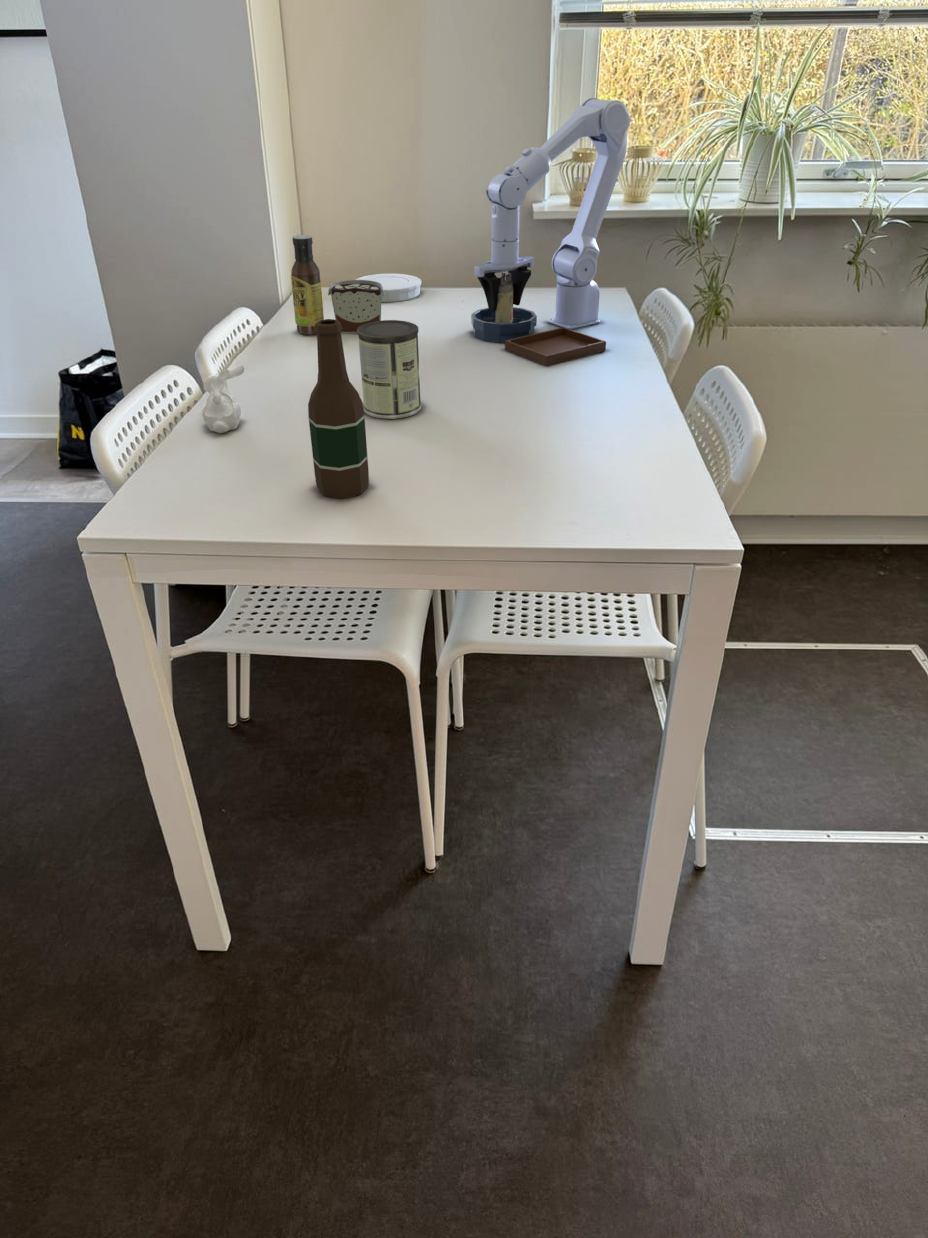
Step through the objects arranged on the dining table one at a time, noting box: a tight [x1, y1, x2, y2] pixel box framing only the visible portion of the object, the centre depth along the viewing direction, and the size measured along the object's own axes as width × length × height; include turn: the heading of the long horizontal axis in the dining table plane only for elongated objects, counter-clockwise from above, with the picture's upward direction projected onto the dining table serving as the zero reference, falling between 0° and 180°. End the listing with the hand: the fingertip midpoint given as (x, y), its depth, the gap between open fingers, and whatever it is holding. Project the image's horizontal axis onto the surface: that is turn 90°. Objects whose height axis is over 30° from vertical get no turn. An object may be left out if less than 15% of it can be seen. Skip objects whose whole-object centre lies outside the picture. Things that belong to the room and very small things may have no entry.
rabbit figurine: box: [201, 363, 245, 434], centre depth 149 cm, size 12×8×10 cm, turn 9°
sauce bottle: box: [290, 234, 325, 336], centre depth 191 cm, size 6×6×20 cm
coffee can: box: [356, 319, 422, 420], centre depth 153 cm, size 10×10×14 cm
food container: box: [327, 279, 385, 334], centre depth 195 cm, size 12×6×10 cm, turn 84°
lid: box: [355, 273, 422, 303], centre depth 223 cm, size 17×20×3 cm
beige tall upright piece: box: [495, 272, 514, 323], centre depth 190 cm, size 7×4×10 cm, turn 172°
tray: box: [504, 327, 607, 367], centre depth 184 cm, size 16×13×2 cm
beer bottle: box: [307, 318, 370, 499], centre depth 124 cm, size 8×8×24 cm
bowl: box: [470, 306, 538, 344], centre depth 193 cm, size 14×14×4 cm
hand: (504, 306), depth 191 cm, fingers closed on beige tall upright piece, 6 cm apart
